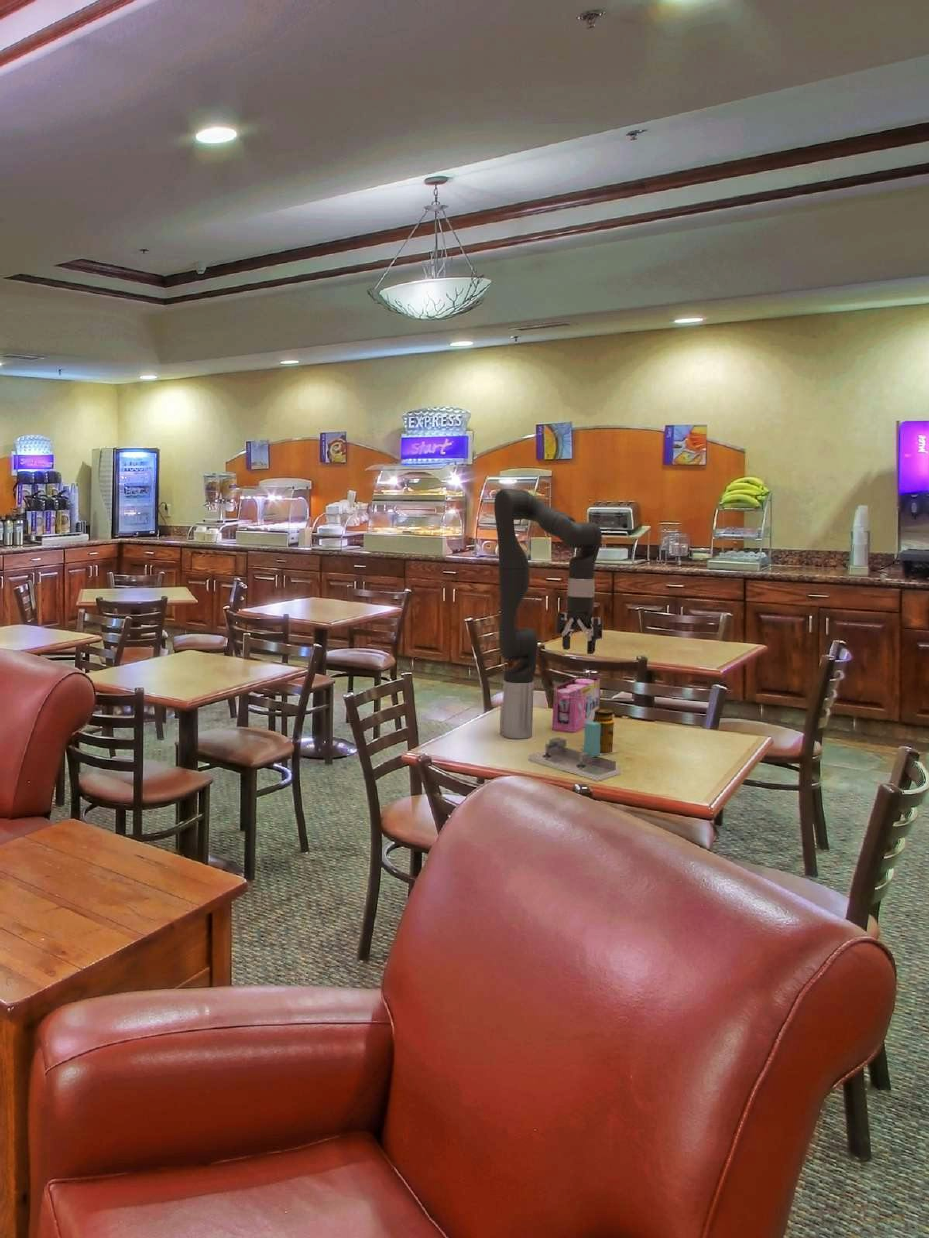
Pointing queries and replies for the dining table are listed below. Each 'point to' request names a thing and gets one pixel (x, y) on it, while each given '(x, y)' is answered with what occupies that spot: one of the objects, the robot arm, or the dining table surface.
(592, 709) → the gum box
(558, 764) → the hole plate
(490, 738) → the dining table surface
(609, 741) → the condiment
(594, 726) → the leg
